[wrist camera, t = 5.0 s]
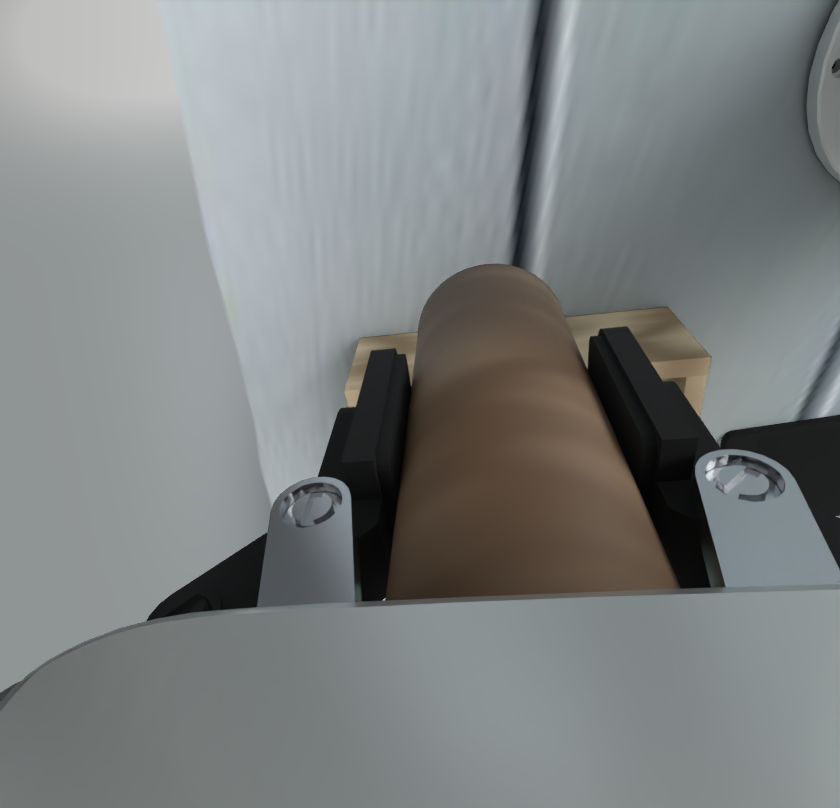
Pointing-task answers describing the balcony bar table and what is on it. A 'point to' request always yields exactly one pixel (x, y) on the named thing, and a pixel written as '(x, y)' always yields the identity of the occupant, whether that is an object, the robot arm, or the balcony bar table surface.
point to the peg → (512, 456)
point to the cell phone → (800, 455)
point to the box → (651, 328)
